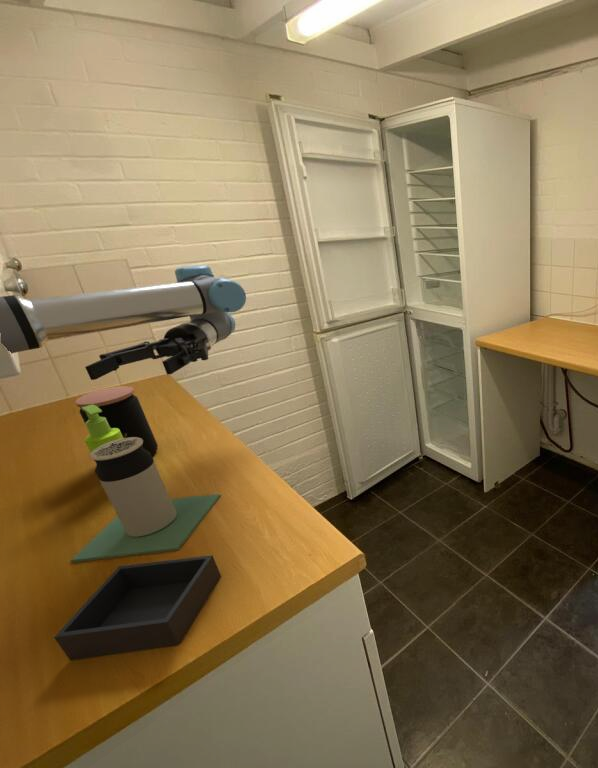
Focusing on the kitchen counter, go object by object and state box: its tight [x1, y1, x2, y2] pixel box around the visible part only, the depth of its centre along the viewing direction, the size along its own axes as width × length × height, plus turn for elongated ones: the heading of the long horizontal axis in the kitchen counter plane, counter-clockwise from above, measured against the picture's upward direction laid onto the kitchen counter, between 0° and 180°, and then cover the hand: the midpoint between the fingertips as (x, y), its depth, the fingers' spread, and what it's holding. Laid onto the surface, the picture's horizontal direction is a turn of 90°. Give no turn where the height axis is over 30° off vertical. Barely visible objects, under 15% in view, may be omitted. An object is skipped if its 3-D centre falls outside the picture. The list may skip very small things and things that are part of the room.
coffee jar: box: [74, 385, 159, 457], centre depth 104 cm, size 11×11×18 cm
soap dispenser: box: [82, 404, 123, 465], centre depth 94 cm, size 6×7×20 cm
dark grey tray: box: [53, 554, 222, 661], centre depth 65 cm, size 14×12×5 cm
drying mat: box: [70, 493, 222, 563], centre depth 84 cm, size 18×16×1 cm
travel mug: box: [89, 437, 177, 537], centre depth 80 cm, size 8×8×18 cm
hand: (128, 370), depth 81 cm, fingers open, 13 cm apart
